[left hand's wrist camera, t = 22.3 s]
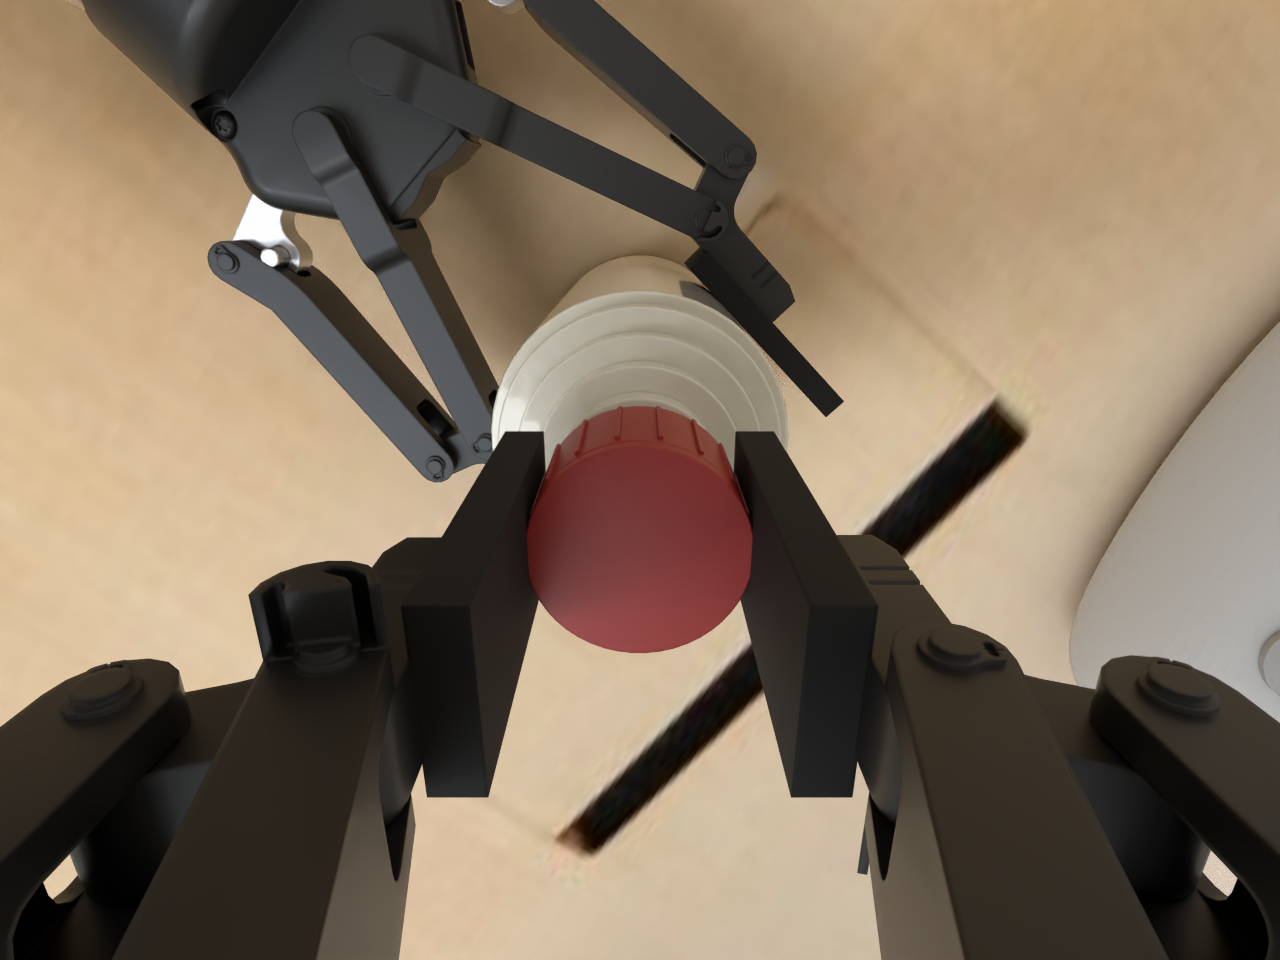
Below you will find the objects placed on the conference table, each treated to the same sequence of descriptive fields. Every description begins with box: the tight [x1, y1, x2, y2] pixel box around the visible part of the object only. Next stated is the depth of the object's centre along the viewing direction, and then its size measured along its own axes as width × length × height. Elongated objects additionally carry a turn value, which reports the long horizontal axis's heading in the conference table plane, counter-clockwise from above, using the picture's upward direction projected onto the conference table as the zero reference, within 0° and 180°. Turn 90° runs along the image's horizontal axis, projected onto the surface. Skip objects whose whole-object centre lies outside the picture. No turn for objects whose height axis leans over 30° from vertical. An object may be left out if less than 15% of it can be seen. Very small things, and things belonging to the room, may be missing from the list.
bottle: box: [491, 255, 788, 472], centre depth 21 cm, size 7×7×18 cm
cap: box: [527, 406, 753, 653], centre depth 13 cm, size 4×4×2 cm
